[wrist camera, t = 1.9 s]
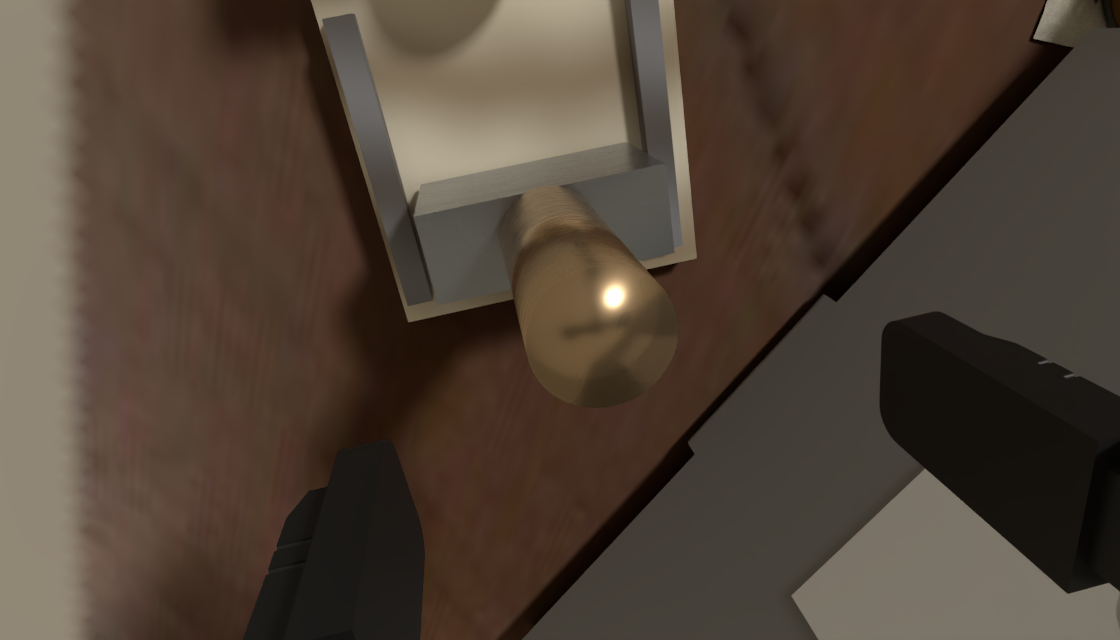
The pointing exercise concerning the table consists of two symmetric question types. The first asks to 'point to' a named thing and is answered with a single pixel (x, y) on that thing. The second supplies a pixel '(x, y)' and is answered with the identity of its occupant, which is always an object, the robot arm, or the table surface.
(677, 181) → the peg and ball tray
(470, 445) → the table surface
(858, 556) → the laptop
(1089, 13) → the condiment
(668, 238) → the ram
